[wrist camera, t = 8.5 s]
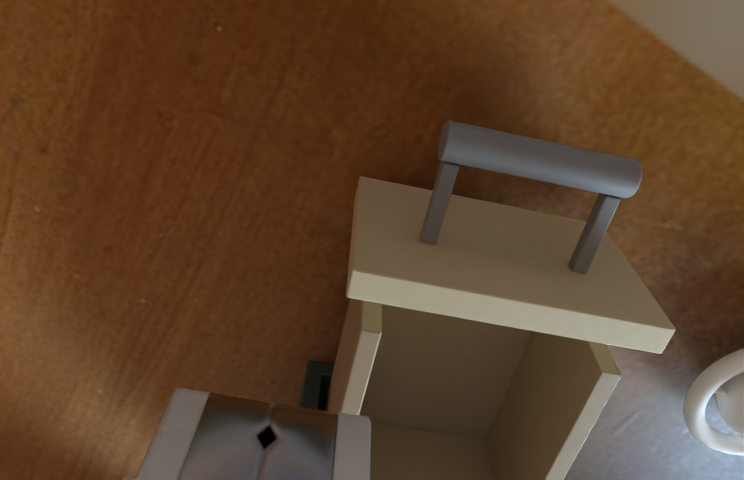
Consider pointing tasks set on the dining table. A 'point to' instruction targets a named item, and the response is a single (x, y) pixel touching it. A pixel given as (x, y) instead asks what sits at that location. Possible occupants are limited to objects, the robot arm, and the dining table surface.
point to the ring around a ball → (718, 403)
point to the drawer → (488, 315)
